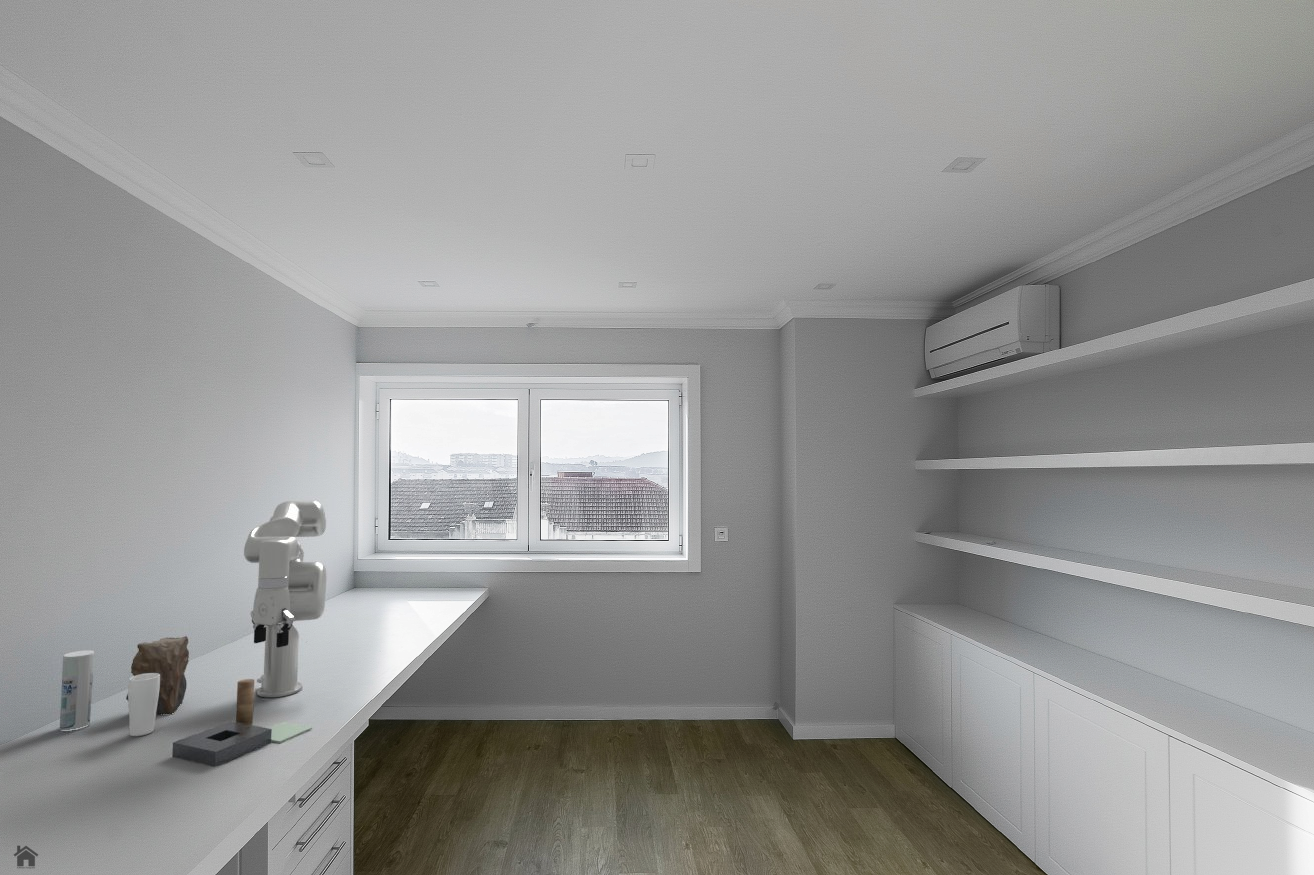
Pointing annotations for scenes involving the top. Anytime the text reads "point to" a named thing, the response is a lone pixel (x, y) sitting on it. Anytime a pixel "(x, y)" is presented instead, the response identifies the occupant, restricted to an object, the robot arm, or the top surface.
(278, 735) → the set down mat
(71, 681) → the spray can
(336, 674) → the top surface
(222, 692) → the top surface
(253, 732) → the dark grey socket block
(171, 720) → the top surface
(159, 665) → the jagged brown boulder
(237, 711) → the tan rounded cylinder
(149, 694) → the drinking glass
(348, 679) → the top surface
